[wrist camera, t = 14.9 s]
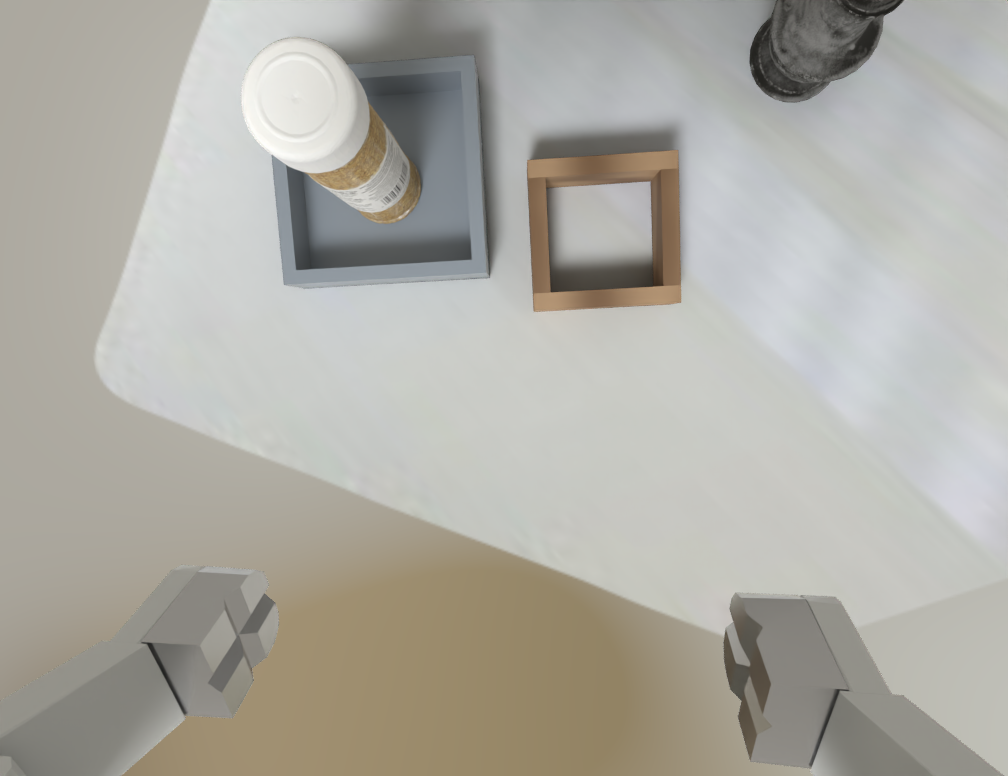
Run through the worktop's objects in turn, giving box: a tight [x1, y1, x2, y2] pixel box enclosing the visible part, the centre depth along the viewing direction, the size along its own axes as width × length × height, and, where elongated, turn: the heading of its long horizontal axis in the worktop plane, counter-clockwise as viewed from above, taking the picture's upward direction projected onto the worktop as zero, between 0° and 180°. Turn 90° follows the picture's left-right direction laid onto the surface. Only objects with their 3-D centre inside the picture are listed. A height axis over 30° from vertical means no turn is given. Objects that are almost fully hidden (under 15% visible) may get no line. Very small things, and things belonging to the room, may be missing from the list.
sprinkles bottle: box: [241, 37, 421, 224], centre depth 27 cm, size 5×5×14 cm
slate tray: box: [272, 55, 490, 289], centre depth 33 cm, size 12×12×3 cm
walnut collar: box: [527, 150, 681, 312], centre depth 33 cm, size 9×9×2 cm
